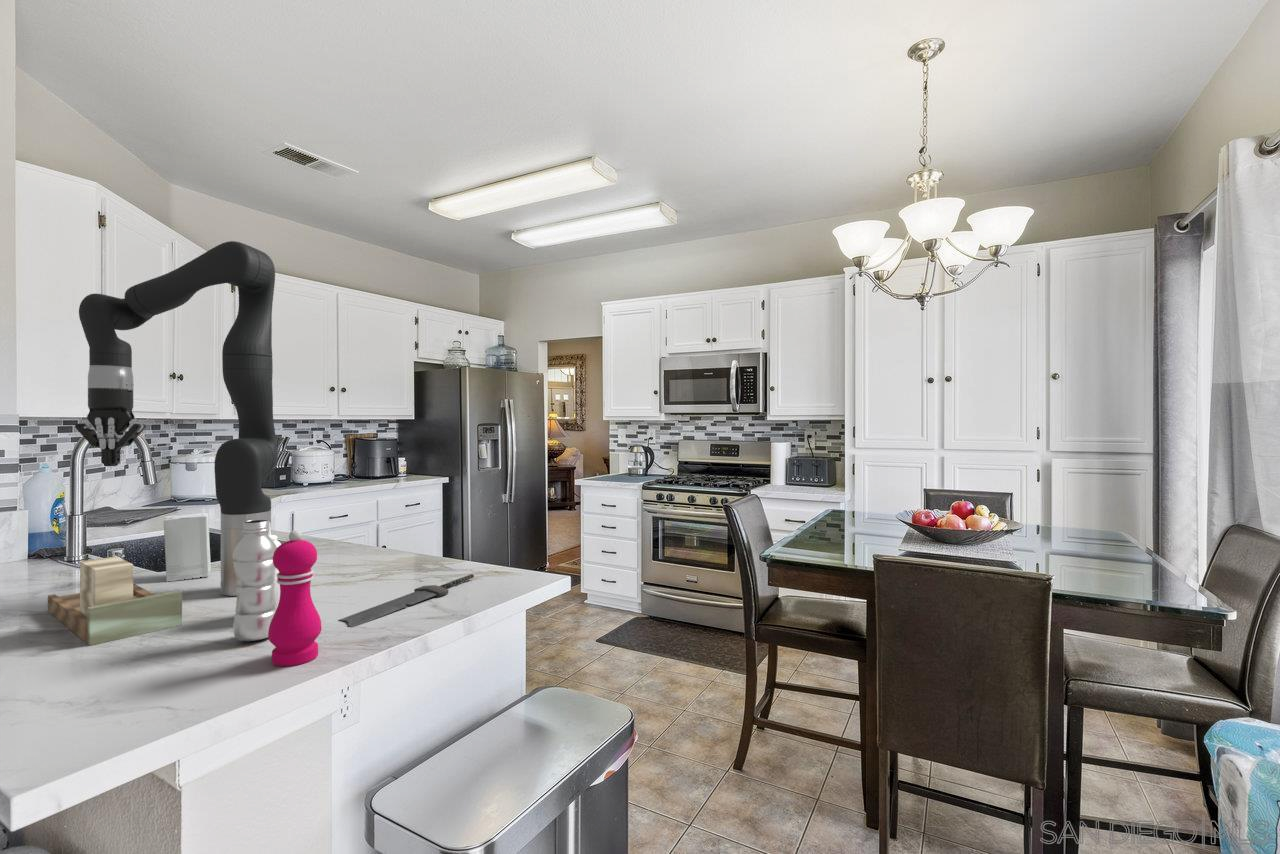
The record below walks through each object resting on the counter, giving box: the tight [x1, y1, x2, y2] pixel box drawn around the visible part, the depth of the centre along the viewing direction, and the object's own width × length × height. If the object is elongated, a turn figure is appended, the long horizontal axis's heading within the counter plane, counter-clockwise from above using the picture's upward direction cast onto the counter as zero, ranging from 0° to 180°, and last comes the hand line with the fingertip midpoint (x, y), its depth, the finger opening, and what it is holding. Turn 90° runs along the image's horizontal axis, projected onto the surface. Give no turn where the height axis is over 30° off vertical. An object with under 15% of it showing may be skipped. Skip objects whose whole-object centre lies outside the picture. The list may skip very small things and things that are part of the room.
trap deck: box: [47, 582, 183, 646], centre depth 112 cm, size 30×12×6 cm, turn 54°
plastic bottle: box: [232, 520, 277, 642], centre depth 101 cm, size 6×7×20 cm
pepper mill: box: [267, 529, 323, 667], centre depth 93 cm, size 7×7×20 cm
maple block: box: [79, 556, 134, 618], centre depth 105 cm, size 10×5×10 cm, turn 54°
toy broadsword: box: [337, 573, 475, 628], centre depth 124 cm, size 7×35×2 cm, turn 154°
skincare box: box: [163, 512, 212, 583], centre depth 141 cm, size 8×6×15 cm
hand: (111, 466), depth 131 cm, fingers closed
